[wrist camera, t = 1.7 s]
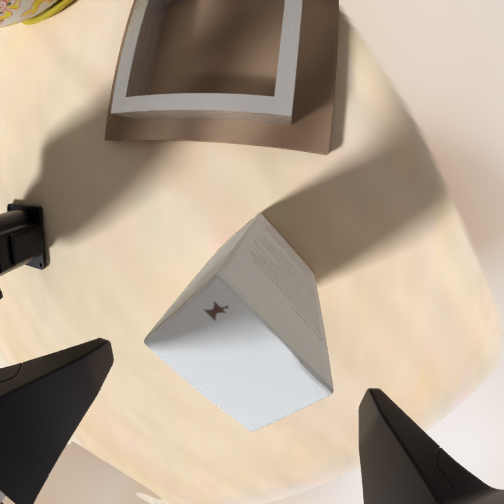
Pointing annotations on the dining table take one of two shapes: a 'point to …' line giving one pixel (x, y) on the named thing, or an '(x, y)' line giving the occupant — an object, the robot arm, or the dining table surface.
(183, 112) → the light gray square frame
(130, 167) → the dining table surface
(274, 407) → the skincare box
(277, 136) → the square wooden tray
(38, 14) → the flowerpot
